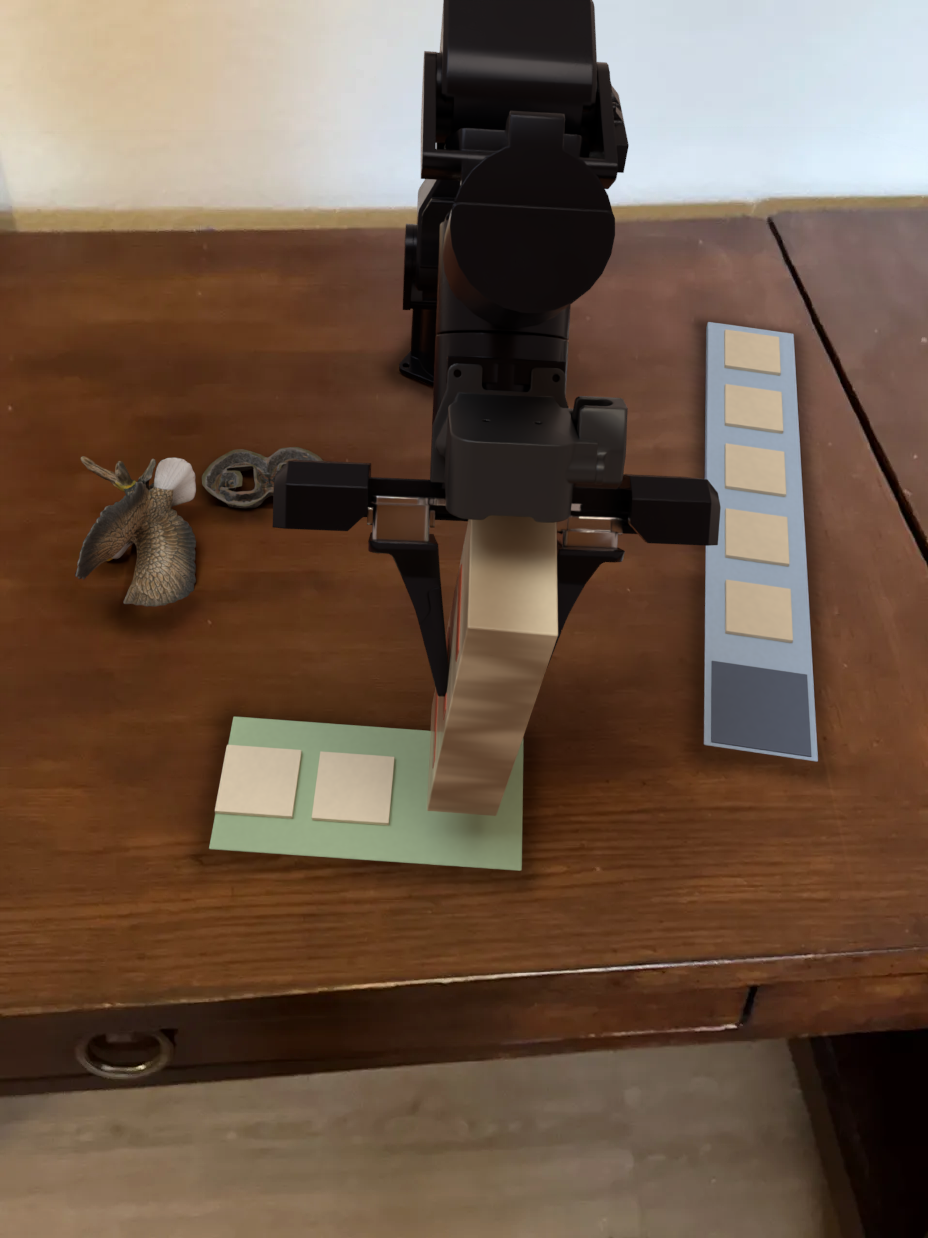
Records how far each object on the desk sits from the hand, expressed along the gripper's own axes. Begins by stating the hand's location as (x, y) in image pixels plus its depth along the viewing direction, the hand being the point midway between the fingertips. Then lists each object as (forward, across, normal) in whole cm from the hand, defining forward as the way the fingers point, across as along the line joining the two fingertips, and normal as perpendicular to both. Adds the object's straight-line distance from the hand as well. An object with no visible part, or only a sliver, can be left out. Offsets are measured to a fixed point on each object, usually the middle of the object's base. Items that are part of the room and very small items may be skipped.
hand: (485, 696), depth 54 cm
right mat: (-7, +19, +25) cm, 32 cm away
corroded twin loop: (-8, -12, +26) cm, 30 cm away
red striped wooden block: (+5, 0, +7) cm, 9 cm away
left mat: (+8, -5, +10) cm, 14 cm away
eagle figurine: (-3, -19, +21) cm, 29 cm away
